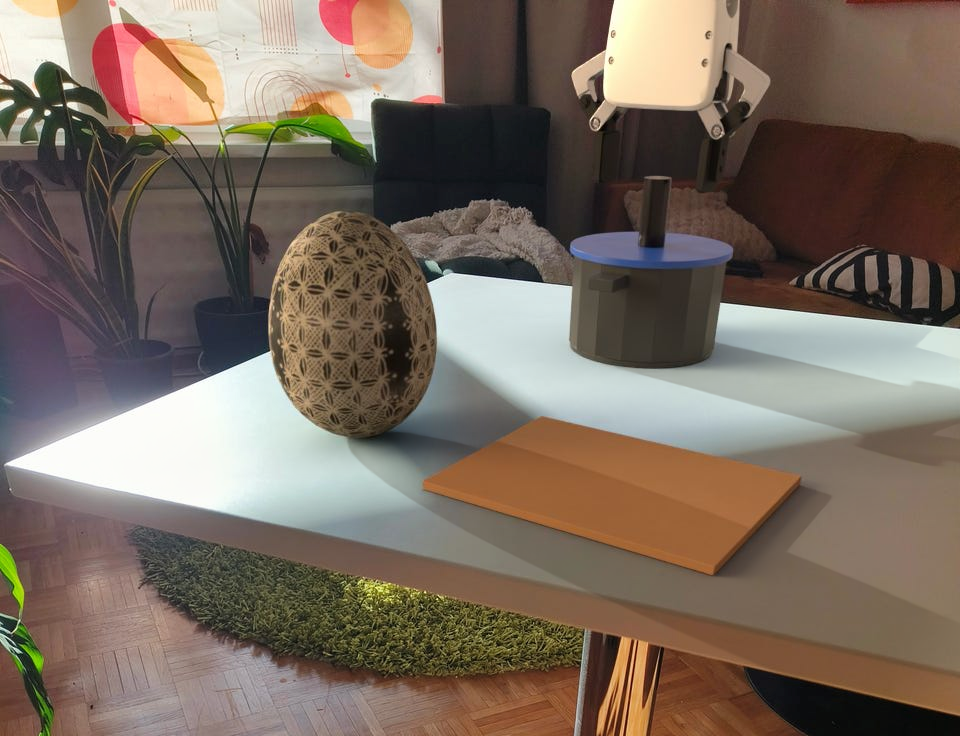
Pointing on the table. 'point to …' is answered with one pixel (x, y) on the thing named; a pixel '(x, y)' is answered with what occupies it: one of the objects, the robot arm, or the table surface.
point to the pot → (644, 314)
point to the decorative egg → (352, 326)
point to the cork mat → (620, 491)
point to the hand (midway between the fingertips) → (654, 186)
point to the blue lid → (652, 239)
